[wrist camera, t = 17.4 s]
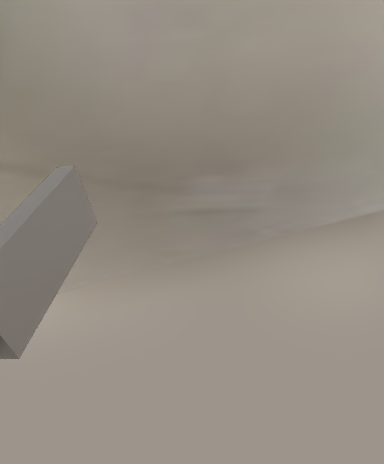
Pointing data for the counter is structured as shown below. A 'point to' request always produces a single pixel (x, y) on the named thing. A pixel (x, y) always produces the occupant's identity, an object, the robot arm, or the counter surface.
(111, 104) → the counter surface
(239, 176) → the counter surface
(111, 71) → the counter surface
